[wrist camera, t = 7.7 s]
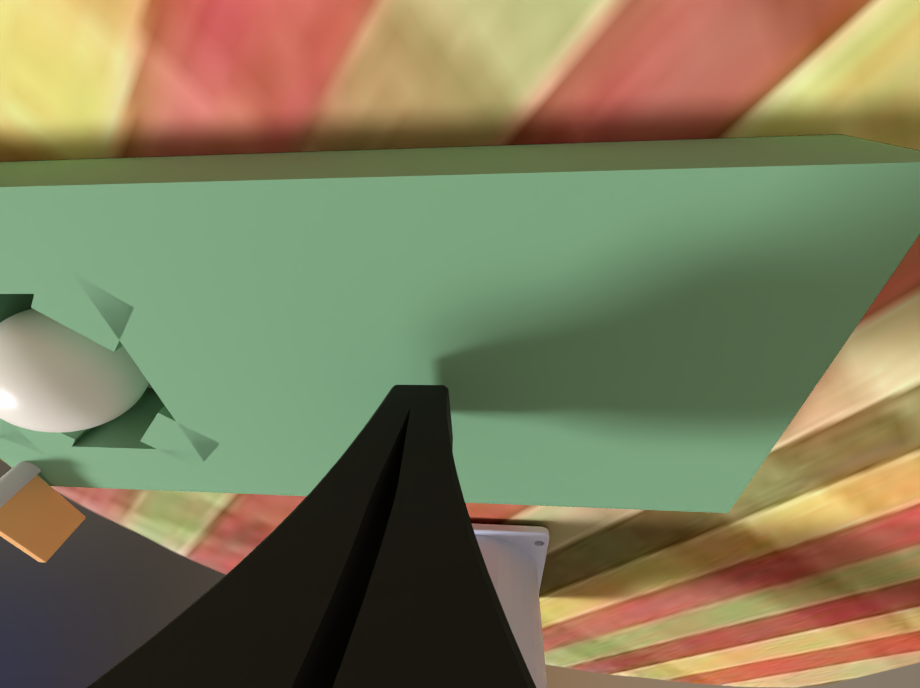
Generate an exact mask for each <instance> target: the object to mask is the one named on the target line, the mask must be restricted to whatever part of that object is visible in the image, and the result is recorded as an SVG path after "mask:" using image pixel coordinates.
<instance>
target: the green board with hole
mask: <svg viewBox="0 0 920 688" xmlns="http://www.w3.org/2000/svg"><path fill="white" fill-rule="evenodd" d="M919 235H920V151H919V150H914V149H909V148H904V147H900V146H895V145H890V144H885V143H880V142H875V141H870V140H865V139H861V138H856V137H851V136H846V135H841V134H839V135H808V136H778V137H747V138H717V139H686V140H655V141H625V142H594V143H563V144H533V145H502V146H471V147H441V148H410V149H380V150H349V151H318V152H288V153H257V154H226V155H196V156H165V157H135V158H104V159H73V160H43V161H12V162H0V322H2V321H4V320H5V319H7V318H9V317H11V316H13V315H15V314H18V313H20V312H23V311H26V310H29V309H34V310H36V311H38V312H40V313H42V314H44V315H46V316H47V317H49V318H51V319H53V320H55V321H57V322H59V323H61V324H62V325H64V326H66V327H68V328H70V329H72V330H74V331H76V332H77V333H79V334H81V335H83V336H85V337H87V338H89V339H91V340H92V341H94V342H96V343H98V344H100V345H102V346H104V347H105V348H107V349H109V350H111V351H113V352H115V351H116V350H118V349H119V348H120V347H122V346H124V348H125V349H126V351H127V352H128V353H129V355H130V356H131V358H132V359H133V361H134V362H135V363H136V365H137V366H138V368H139V369H140V371H141V372H142V373H143V375H144V376H145V378H146V379H147V381H148V382H149V385H148V387H149V388H147V389H146V390H145V392H144V394H143V395H142V397H141V398H140V399H139V400H138V401H137V402H136V403H135V404H134V405H133V406H132V407H131V408H130V409H129V410H127V411H126V412H125V413H123V414H122V415H120V416H118V417H117V418H115V419H113V420H111V421H109V422H107V423H104V424H102V425H99V426H96V427H93V428H89V429H85V430H80V431H74V432H61V433H57V432H41V431H33V430H29V429H25V428H21V427H18V426H16V425H13V424H10V423H8V422H6V421H4V420H2V419H0V458H1V459H2V460H3V461H5V462H6V463H7V464H8V465H9V466H11V467H12V469H11V470H10V471H8V472H7V473H6V474H5V475H4V476H2V478H0V536H2V537H3V538H4V539H6V540H7V541H9V542H10V543H12V544H13V545H15V546H16V547H18V548H19V549H21V550H22V551H23V552H25V553H26V554H28V555H30V556H31V557H32V558H34V559H35V560H37V561H38V562H47V561H48V559H49V558H50V557H51V556H52V555H53V554H54V553H55V552H56V550H57V549H58V548H59V547H60V546H61V545H62V544H63V543H64V541H65V540H66V539H67V538H68V537H69V536H70V535H71V534H72V532H73V531H74V530H75V529H76V528H77V527H78V526H79V525H80V524H81V522H82V521H83V520H84V519H85V518H86V517H85V516H84V515H83V514H81V513H80V512H79V511H78V510H77V509H75V507H73V506H72V505H71V504H70V503H69V502H67V501H66V500H65V499H64V498H63V497H62V496H61V495H60V494H58V493H57V492H56V491H55V490H54V489H53V488H52V487H50V486H64V487H89V488H114V489H139V490H164V491H189V492H214V493H240V494H265V495H290V496H308V495H309V493H310V492H311V491H312V490H313V489H314V488H315V487H316V486H317V484H318V483H319V482H320V481H321V480H322V479H323V477H324V476H325V475H326V474H327V473H328V472H329V470H330V469H331V468H332V467H333V466H334V465H335V463H336V462H337V461H338V460H339V459H340V457H341V456H342V455H343V454H344V453H345V451H346V450H347V449H348V447H349V446H350V445H351V443H352V442H353V441H354V440H355V438H356V437H357V436H358V434H359V433H360V432H361V431H362V429H363V428H364V427H365V425H366V424H367V422H368V421H369V420H370V418H371V417H372V416H373V414H374V413H375V411H376V410H377V409H378V407H379V406H380V404H381V403H382V401H383V400H384V398H385V397H386V396H387V394H388V393H389V391H390V390H391V388H392V387H393V386H394V385H444V386H445V387H447V388H448V389H449V400H450V411H451V422H452V433H453V450H452V452H453V457H454V462H455V466H456V471H457V475H458V479H459V483H460V486H461V490H462V494H463V497H464V501H465V503H490V504H515V505H540V506H565V507H590V508H615V509H640V510H665V511H690V512H715V513H728V512H729V511H730V509H731V508H732V506H733V505H734V504H735V502H736V501H737V499H738V498H739V496H740V495H741V493H742V492H743V490H744V489H745V488H746V486H747V485H748V483H749V482H750V480H751V479H752V477H753V476H754V474H755V473H756V472H757V470H758V469H759V467H760V466H761V464H762V463H763V461H764V460H765V458H766V457H767V456H768V454H769V453H770V451H771V450H772V448H773V447H774V445H775V444H776V442H777V441H778V440H779V438H780V437H781V435H782V434H783V432H784V431H785V429H786V428H787V427H788V425H789V424H790V422H791V421H792V419H793V418H794V416H795V415H796V413H797V412H798V411H799V409H800V408H801V406H802V405H803V403H804V402H805V400H806V399H807V397H808V396H809V395H810V393H811V392H812V390H813V389H814V387H815V386H816V384H817V383H818V381H819V380H820V379H821V377H822V376H823V374H824V373H825V371H826V370H827V368H828V367H829V365H830V364H831V363H832V361H833V360H834V358H835V357H836V355H837V354H838V352H839V351H840V349H841V348H842V347H843V345H844V344H845V342H846V341H847V339H848V338H849V336H850V335H851V334H852V332H853V331H854V329H855V328H856V326H857V325H858V323H859V322H860V320H861V319H862V318H863V316H864V315H865V313H866V312H867V310H868V309H869V307H870V306H871V304H872V303H873V302H874V300H875V299H876V297H877V296H878V294H879V293H880V291H881V290H882V288H883V287H884V286H885V284H886V283H887V281H888V280H889V278H890V277H891V275H892V274H893V272H894V271H895V270H896V268H897V267H898V265H899V264H900V262H901V261H902V259H903V258H904V256H905V255H906V254H907V252H908V251H909V249H910V248H911V246H912V245H913V243H914V242H915V240H916V239H917V238H918V236H919Z"/></svg>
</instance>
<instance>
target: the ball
mask: <svg viewBox="0 0 920 688" xmlns="http://www.w3.org/2000/svg"><path fill="white" fill-rule="evenodd" d="M148 385H149V382H148V381H147V379H146V378H145V376H144V375H143V373H142V372H141V371H140V369H139V368H138V366H137V365H136V363H135V362H134V361H133V359H132V358H131V356H130V355H129V353H128V352H127V351H126V349H125V348H124V346H122V347H120V348H119V349H118V350H116V351H115V352H113V351H111V350H109V349H107V348H105V347H104V346H102V345H100V344H98V343H96V342H94V341H92V340H91V339H89V338H87V337H85V336H83V335H81V334H79V333H77V332H76V331H74V330H72V329H70V328H68V327H66V326H64V325H62V324H61V323H59V322H57V321H55V320H53V319H51V318H49V317H47V316H46V315H44V314H42V313H40V312H38V311H36V310H34V309H29V310H26V311H23V312H20V313H18V314H15V315H13V316H11V317H9V318H7V319H5V320H4V321H2V322H0V419H2V420H4V421H6V422H8V423H10V424H13V425H16V426H18V427H21V428H25V429H29V430H33V431H41V432H57V433H61V432H74V431H80V430H85V429H89V428H93V427H96V426H99V425H102V424H104V423H107V422H109V421H111V420H113V419H115V418H117V417H118V416H120V415H122V414H123V413H125V412H126V411H127V410H129V409H130V408H131V407H132V406H133V405H134V404H135V403H136V402H137V401H138V400H139V399H140V398H141V397H142V395H143V394H144V392H145V390H146V389H147V387H148Z"/></svg>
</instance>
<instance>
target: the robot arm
mask: <svg viewBox="0 0 920 688" xmlns="http://www.w3.org/2000/svg"><path fill="white" fill-rule="evenodd" d="M452 450H453V433H452V422H451V411H450V400H449V389H448V388H447V387H445V386H444V385H394V386H393V387H392V388H391V390H390V391H389V393H388V394H387V396H386V397H385V398H384V400H383V401H382V403H381V404H380V406H379V407H378V409H377V410H376V411H375V413H374V414H373V416H372V417H371V418H370V420H369V421H368V422H367V424H366V425H365V427H364V428H363V429H362V431H361V432H360V433H359V434H358V436H357V437H356V438H355V440H354V441H353V442H352V443H351V445H350V446H349V447H348V449H347V450H346V451H345V453H344V454H343V455H342V456H341V457H340V459H339V460H338V461H337V462H336V463H335V465H334V466H333V467H332V468H331V469H330V470H329V472H328V473H327V474H326V475H325V476H324V477H323V479H322V480H321V481H320V482H319V483H318V484H317V486H316V487H315V488H314V489H313V490H312V491H311V492H310V493H309V495H308V496H307V497H306V498H305V499H304V500H303V501H302V502H301V503H300V504H299V505H298V506H297V507H296V509H295V510H294V511H293V512H292V513H291V514H290V515H289V516H288V517H287V518H286V519H285V520H284V521H283V522H282V523H281V524H280V525H279V526H278V527H277V528H276V529H275V530H274V531H273V532H272V533H271V534H270V535H269V536H268V537H267V538H266V539H265V540H263V541H262V542H261V543H260V544H259V545H258V546H257V547H256V548H255V549H254V550H253V551H252V552H251V553H250V554H249V555H248V556H247V557H246V558H244V559H243V560H242V561H241V562H240V563H239V564H238V565H237V566H236V567H235V568H234V569H232V570H231V571H230V572H229V573H228V574H227V575H226V576H225V577H223V578H222V579H221V580H220V581H219V582H218V583H217V584H215V585H214V586H213V587H212V588H211V589H210V590H208V591H207V592H206V593H205V594H204V595H202V596H201V597H200V598H199V599H198V600H196V601H195V602H194V603H193V604H192V605H191V606H189V607H188V608H187V609H186V610H185V611H184V612H182V613H181V614H180V615H179V616H177V618H175V619H174V620H173V621H171V622H170V623H169V624H168V625H167V626H165V627H164V628H163V629H162V630H161V631H159V632H158V633H157V634H156V635H154V636H153V637H152V638H151V639H149V640H148V641H147V642H146V643H144V644H143V645H142V646H140V647H139V648H138V649H137V650H135V651H134V652H133V653H131V654H130V655H129V656H127V657H126V658H125V659H123V660H122V661H121V662H119V663H118V664H117V665H116V666H114V667H113V668H112V669H110V670H109V671H108V672H107V673H105V674H104V675H102V676H101V677H100V678H99V679H97V680H96V681H95V682H93V683H92V684H91V685H89V686H88V687H87V688H547V681H546V670H545V659H544V647H543V636H542V625H541V613H540V602H539V590H540V585H541V580H542V575H543V570H544V565H545V560H546V555H547V550H548V544H549V539H550V536H549V530H548V529H547V528H545V527H541V526H520V525H498V524H475V523H471V521H470V517H469V514H468V511H467V508H466V504H465V501H464V497H463V494H462V490H461V486H460V483H459V479H458V475H457V471H456V466H455V462H454V457H453V452H452Z"/></svg>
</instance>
